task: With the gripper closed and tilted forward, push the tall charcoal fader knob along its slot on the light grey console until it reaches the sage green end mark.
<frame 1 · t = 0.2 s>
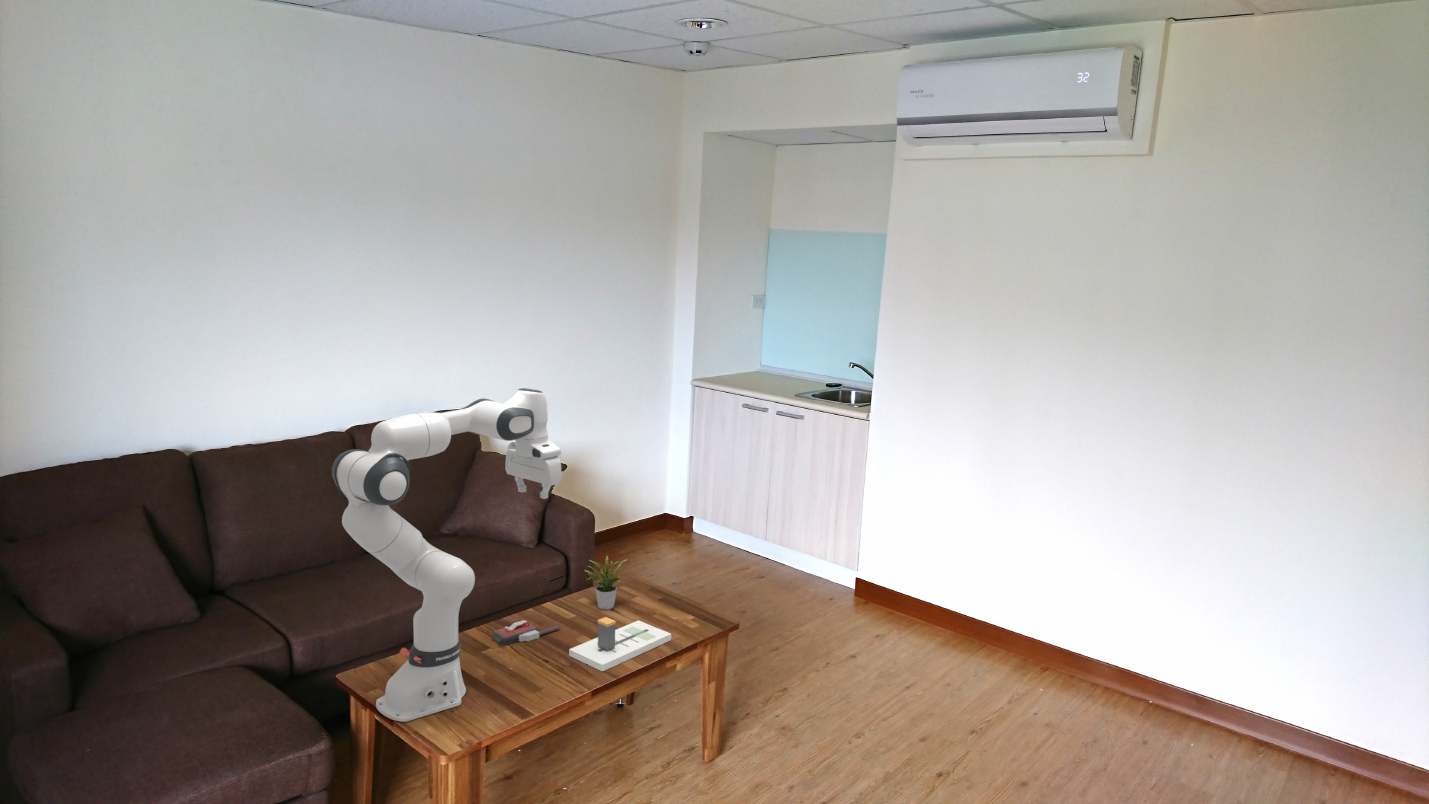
hand: (533, 495, 252), 48 cm above the table, tool pointing down, fingers open, 8 cm apart
red and grey tool: (525, 637, 274), on the table
console: (621, 647, 268), on the table
fader knob: (606, 633, 262), point 6 cm above the table, slide at 0.0 cm
house plant: (608, 605, 298), on the table
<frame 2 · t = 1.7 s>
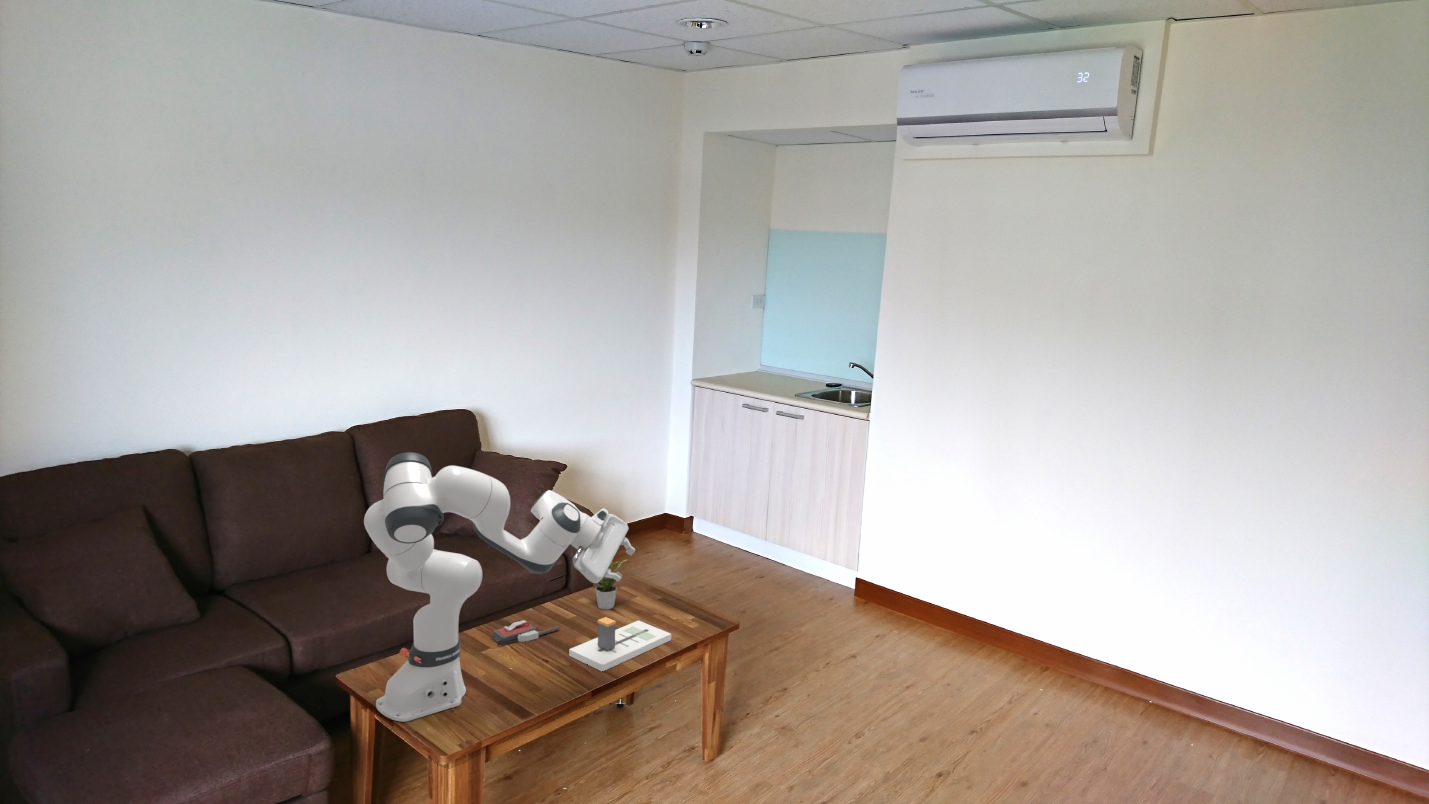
hand: (626, 565, 243), 33 cm above the table, tool tilted 50°, fingers open, 8 cm apart
nothing on the table moved.
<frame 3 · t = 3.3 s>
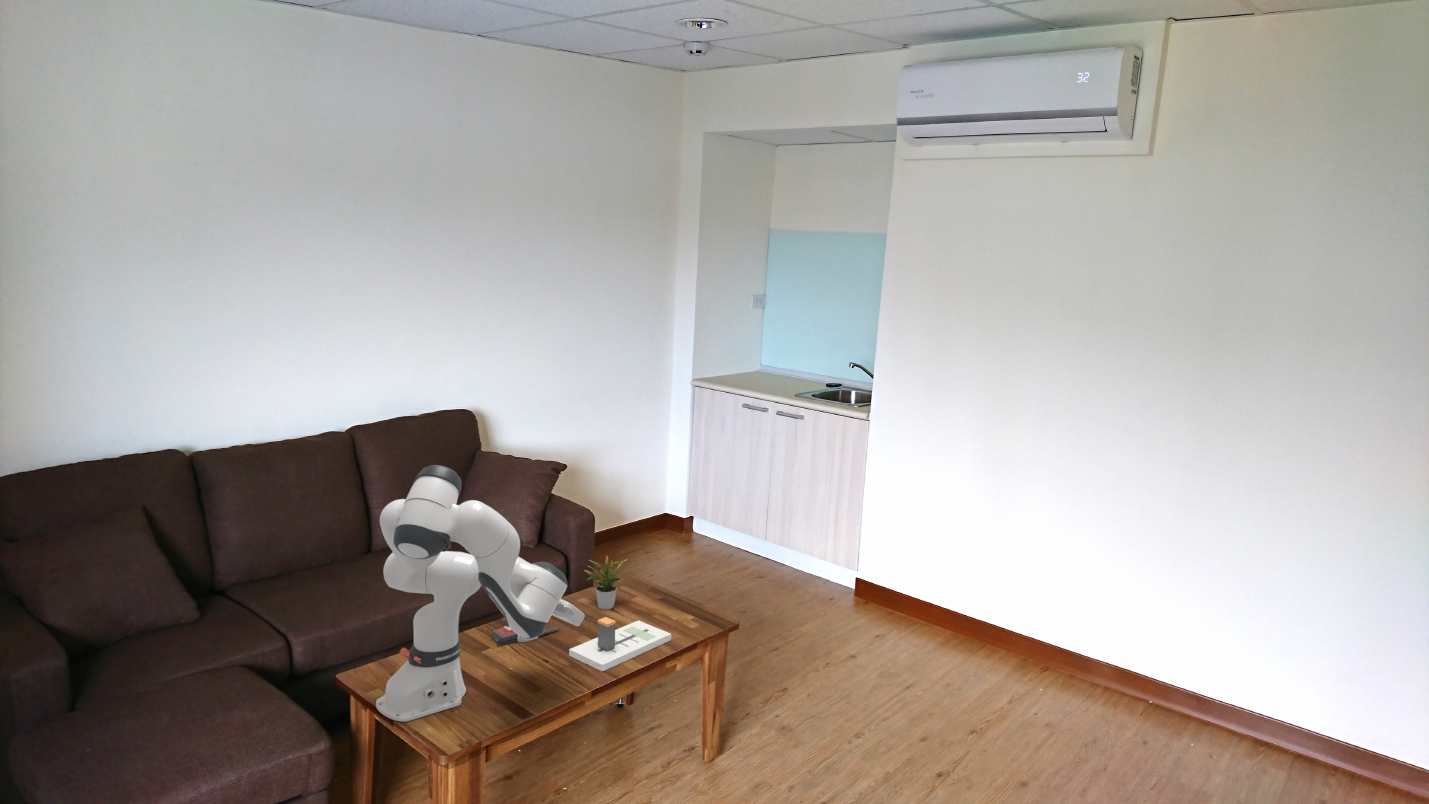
hand: (568, 619, 250), 15 cm above the table, tool tilted 45°, fingers closed
nothing on the table moved.
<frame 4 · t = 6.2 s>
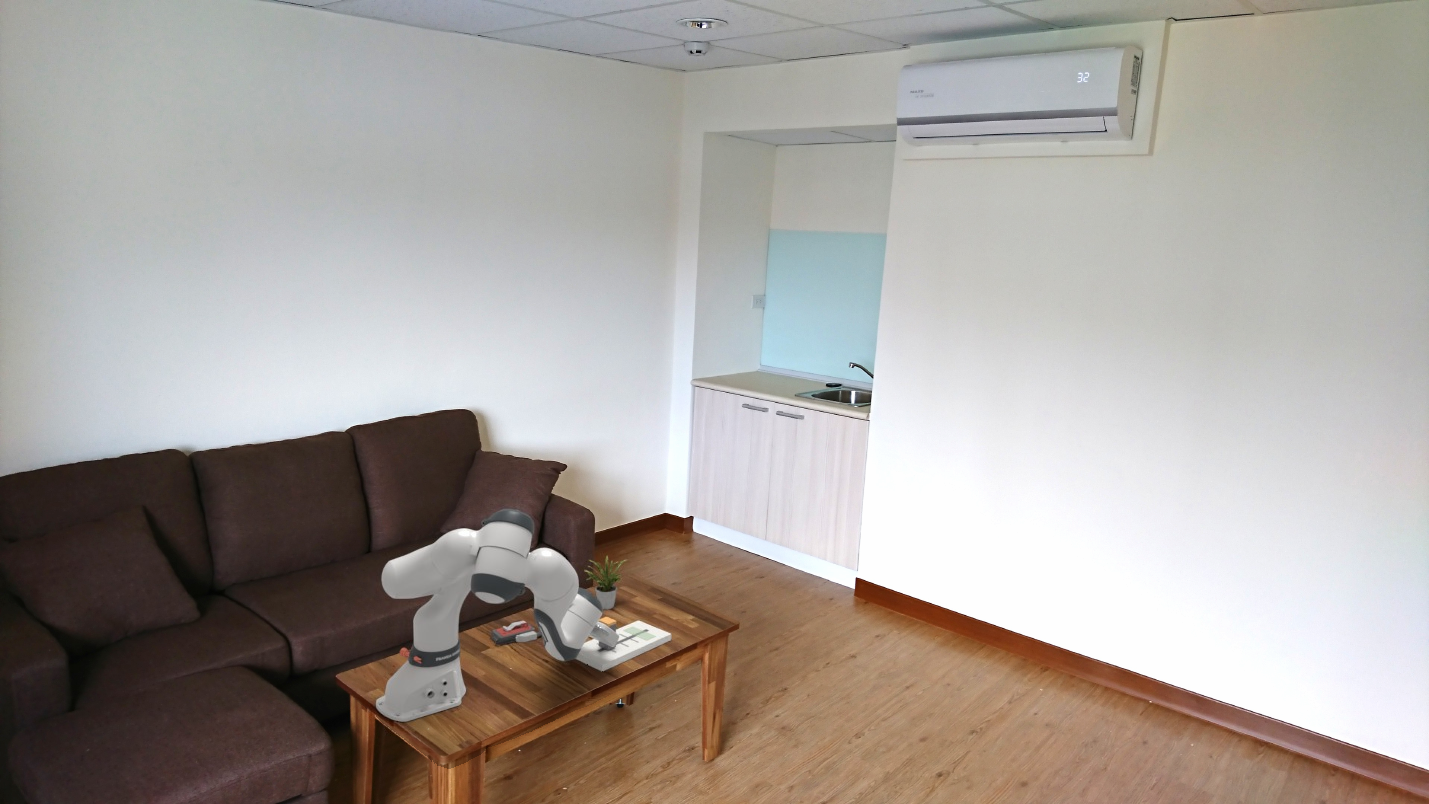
hand: (602, 639, 261), 5 cm above the table, tool tilted 45°, fingers closed, pressing on fader knob
fader knob: (607, 633, 262), point 6 cm above the table, slide at 0.3 cm, touching gripper
everything else where it was.
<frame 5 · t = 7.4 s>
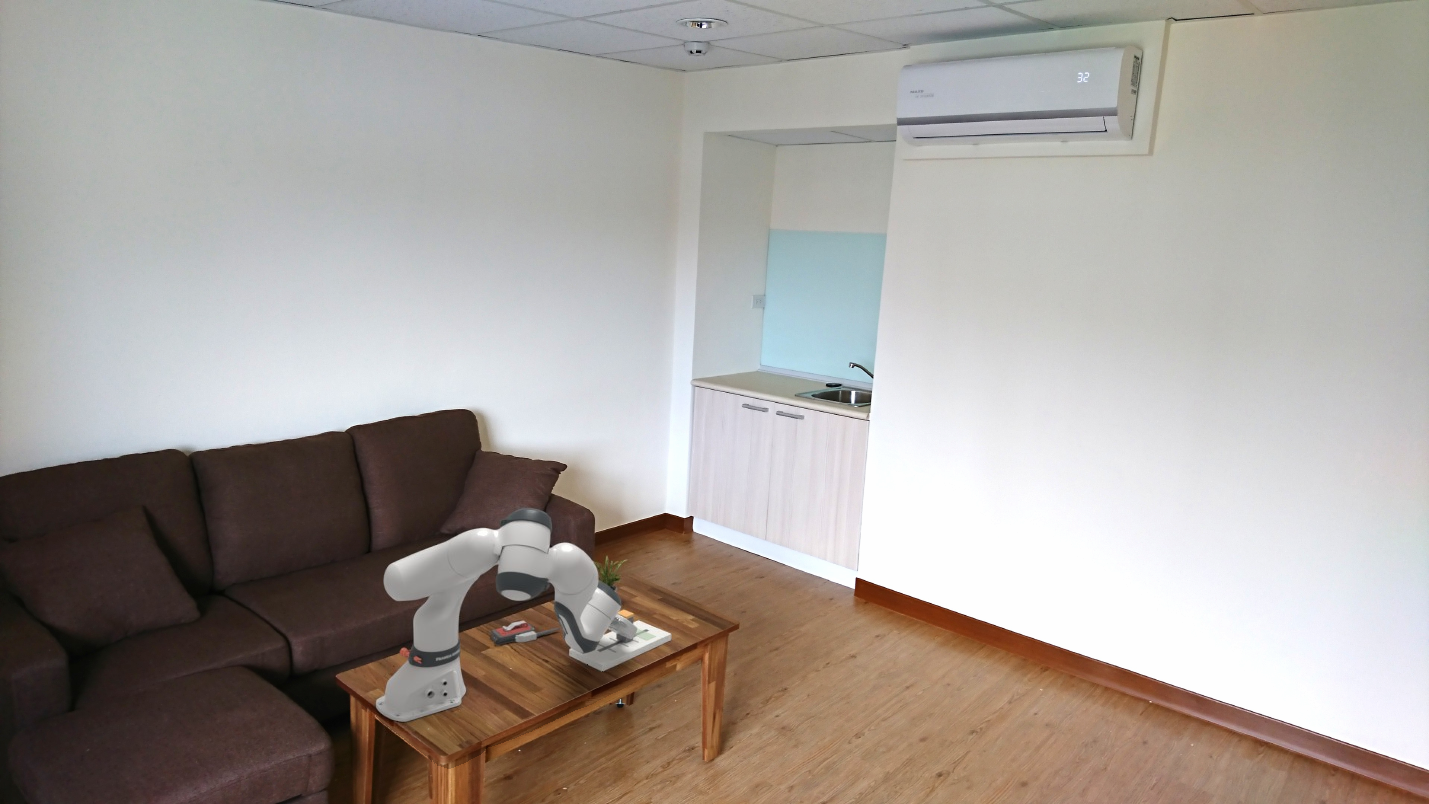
hand: (620, 631, 266), 5 cm above the table, tool tilted 45°, fingers closed, pressing on fader knob
fader knob: (624, 626, 267), point 6 cm above the table, slide at 7.3 cm, touching gripper
everything else where it was.
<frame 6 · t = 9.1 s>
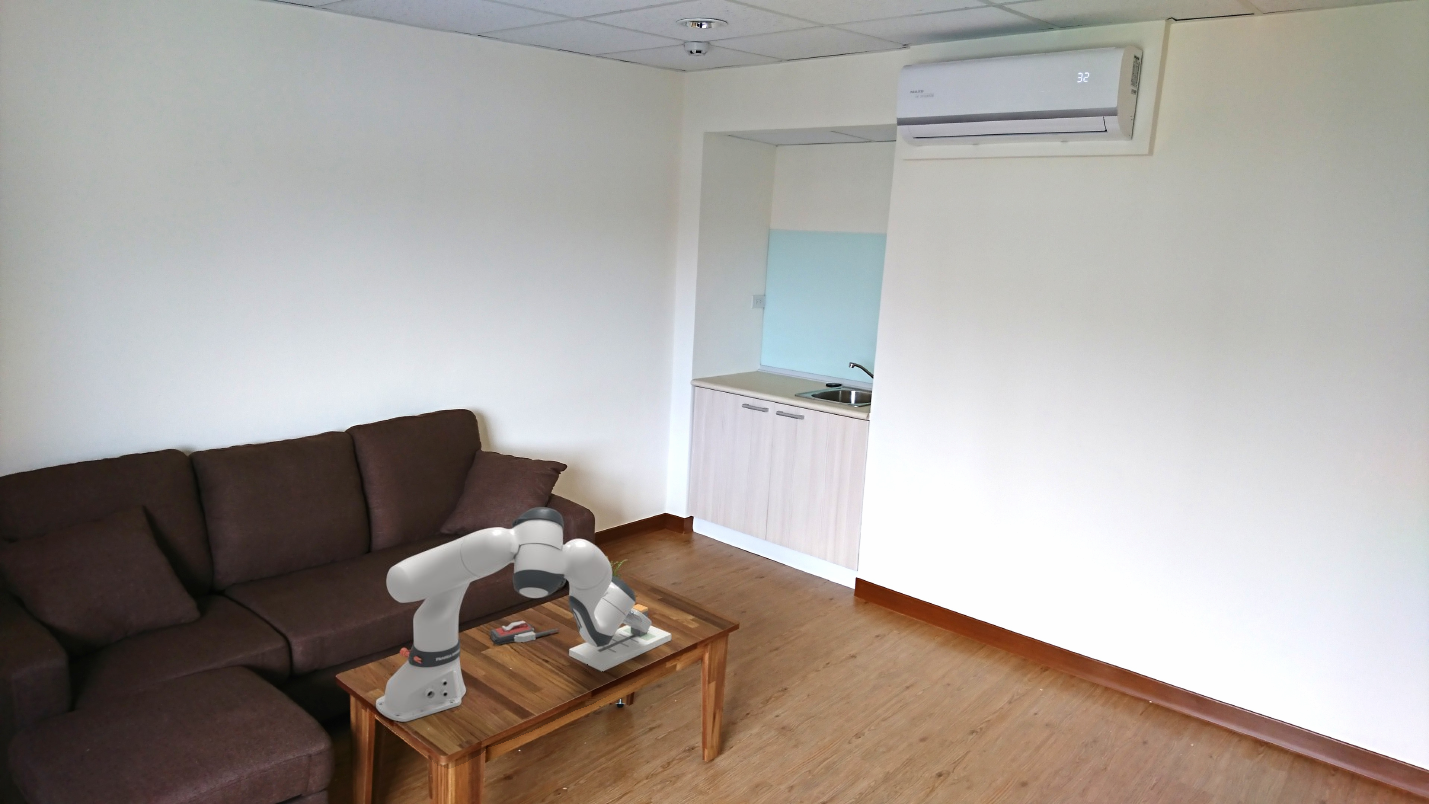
hand: (634, 625, 270), 5 cm above the table, tool tilted 45°, fingers closed, pressing on fader knob
fader knob: (639, 620, 272), point 6 cm above the table, slide at 13.3 cm, touching gripper
everything else where it was.
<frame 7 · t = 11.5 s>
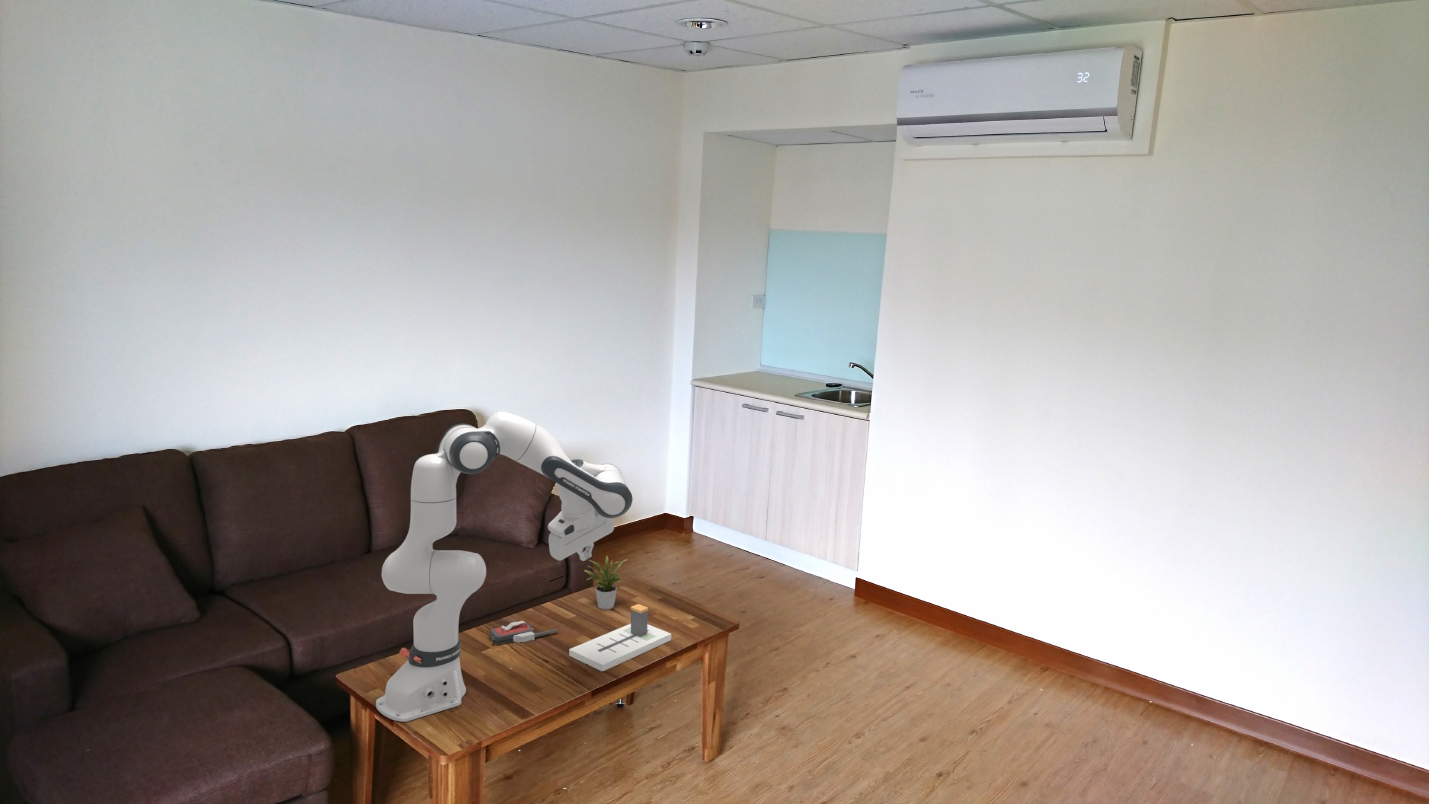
hand: (586, 558, 256), 30 cm above the table, tool pointing down, fingers closed
fader knob: (639, 620, 272), point 6 cm above the table, slide at 13.3 cm
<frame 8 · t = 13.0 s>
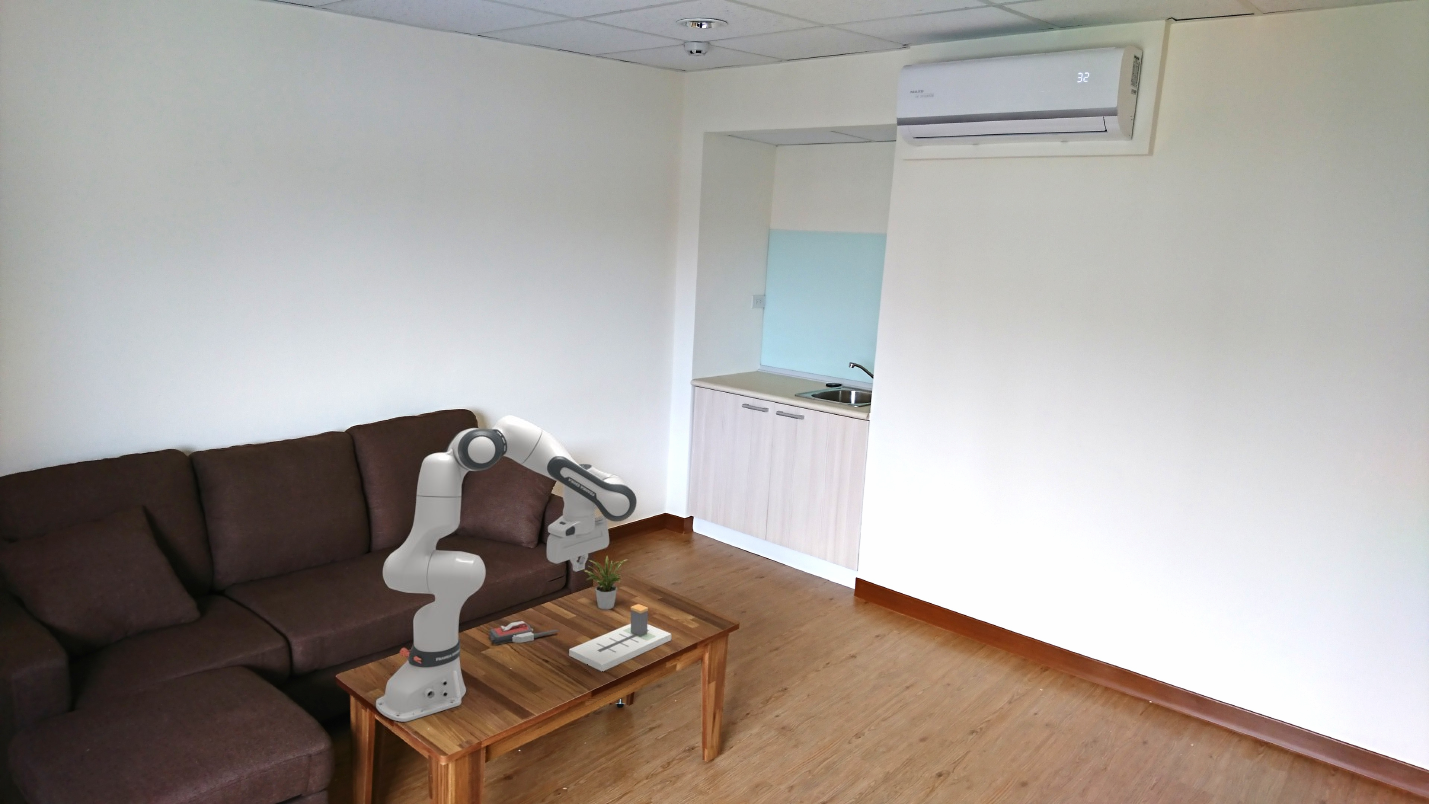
hand: (578, 569, 254), 27 cm above the table, tool pointing down, fingers closed
at the end: fader knob slide at 13.3 cm; house plant moved 0.2 cm from its start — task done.
